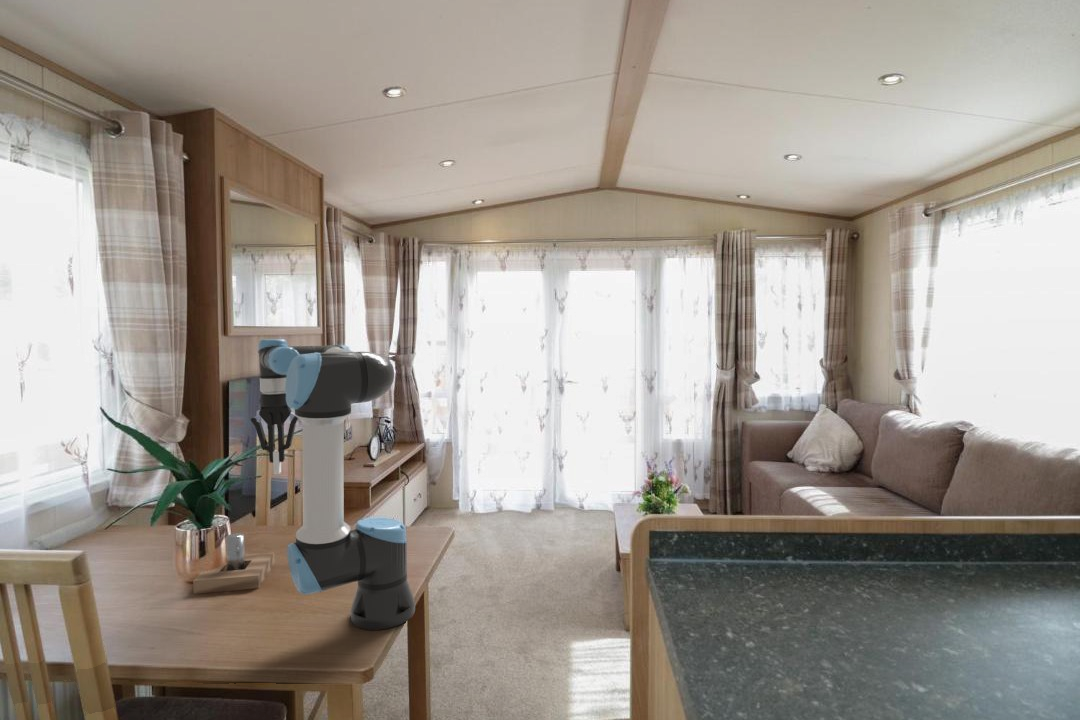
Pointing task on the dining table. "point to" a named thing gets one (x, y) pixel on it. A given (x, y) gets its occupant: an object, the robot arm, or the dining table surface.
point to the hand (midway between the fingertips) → (277, 473)
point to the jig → (235, 575)
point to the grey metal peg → (235, 552)
